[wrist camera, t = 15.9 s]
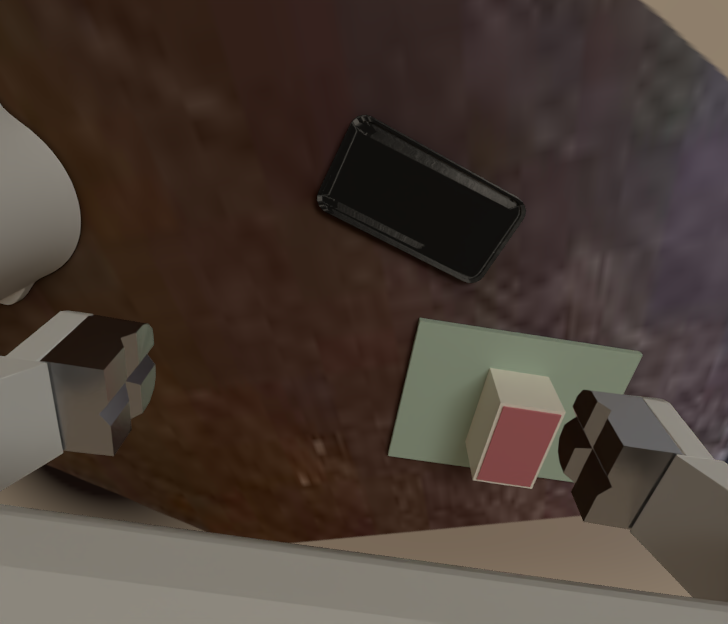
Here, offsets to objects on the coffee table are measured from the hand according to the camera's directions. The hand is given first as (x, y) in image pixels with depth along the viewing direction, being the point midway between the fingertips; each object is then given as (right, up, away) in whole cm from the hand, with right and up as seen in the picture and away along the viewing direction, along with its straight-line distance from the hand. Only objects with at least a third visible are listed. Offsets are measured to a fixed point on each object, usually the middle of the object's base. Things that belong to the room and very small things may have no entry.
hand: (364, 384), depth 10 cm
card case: (+13, -8, +38) cm, 41 cm away
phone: (+4, +10, +30) cm, 32 cm away
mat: (+14, -8, +39) cm, 42 cm away
